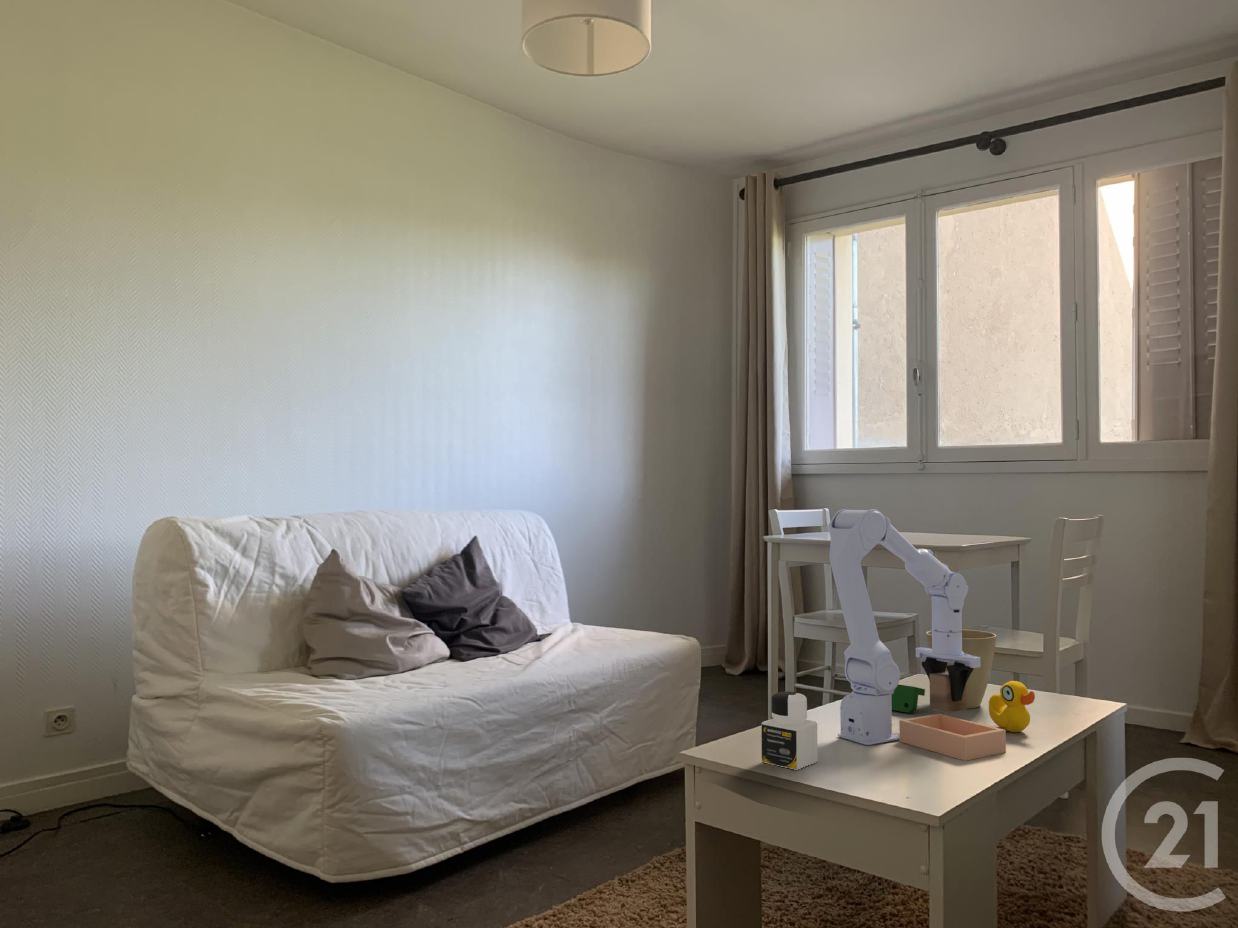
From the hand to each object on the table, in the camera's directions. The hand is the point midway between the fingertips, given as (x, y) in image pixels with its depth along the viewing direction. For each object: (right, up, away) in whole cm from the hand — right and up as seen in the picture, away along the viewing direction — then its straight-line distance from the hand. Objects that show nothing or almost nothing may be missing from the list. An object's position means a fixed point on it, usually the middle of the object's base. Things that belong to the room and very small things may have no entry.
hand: (947, 698), depth 184 cm
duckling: (+12, -6, -3) cm, 14 cm away
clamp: (-5, -7, +18) cm, 20 cm away
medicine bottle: (-36, -5, -25) cm, 45 cm away
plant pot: (+11, -7, +21) cm, 25 cm away
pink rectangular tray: (-4, -5, -14) cm, 16 cm away
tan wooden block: (0, -2, 0) cm, 2 cm away
